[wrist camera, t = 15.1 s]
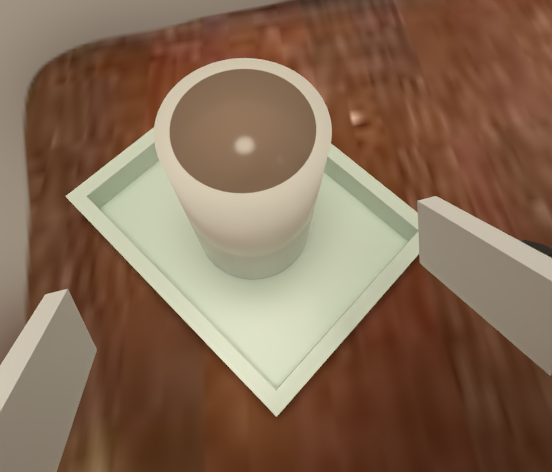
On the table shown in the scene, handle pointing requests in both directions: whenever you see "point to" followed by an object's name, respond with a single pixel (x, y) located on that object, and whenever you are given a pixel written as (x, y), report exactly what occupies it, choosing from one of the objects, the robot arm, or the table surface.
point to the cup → (245, 161)
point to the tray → (268, 291)
